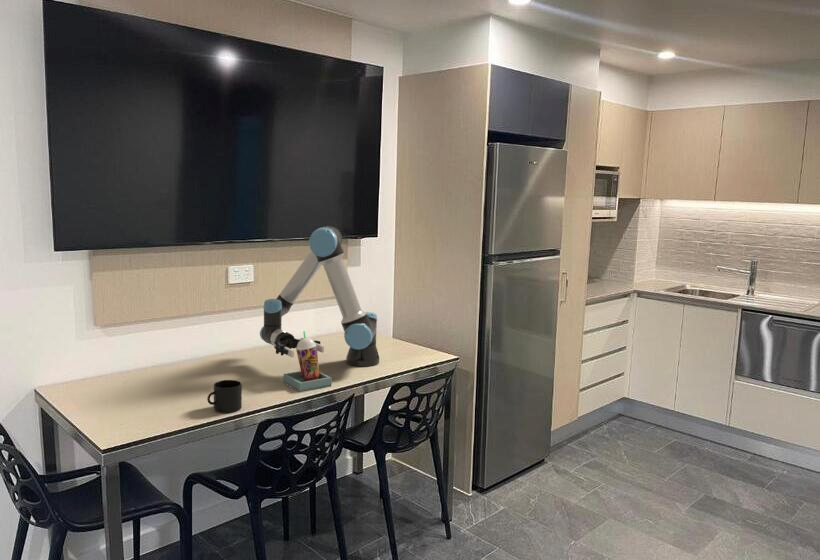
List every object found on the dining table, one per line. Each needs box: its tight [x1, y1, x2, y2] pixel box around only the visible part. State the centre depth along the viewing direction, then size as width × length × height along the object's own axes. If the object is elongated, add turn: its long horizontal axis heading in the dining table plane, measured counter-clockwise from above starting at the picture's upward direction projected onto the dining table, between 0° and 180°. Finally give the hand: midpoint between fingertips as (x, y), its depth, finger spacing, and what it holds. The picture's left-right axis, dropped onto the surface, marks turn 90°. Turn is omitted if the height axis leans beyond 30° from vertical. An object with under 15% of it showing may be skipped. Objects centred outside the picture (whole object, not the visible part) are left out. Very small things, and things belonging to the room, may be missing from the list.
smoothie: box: [295, 330, 320, 381], centre depth 251 cm, size 8×8×20 cm
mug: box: [206, 379, 243, 414], centre depth 219 cm, size 9×12×9 cm
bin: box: [282, 370, 332, 393], centre depth 250 cm, size 14×14×4 cm
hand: (308, 351), depth 247 cm, fingers open, 13 cm apart
